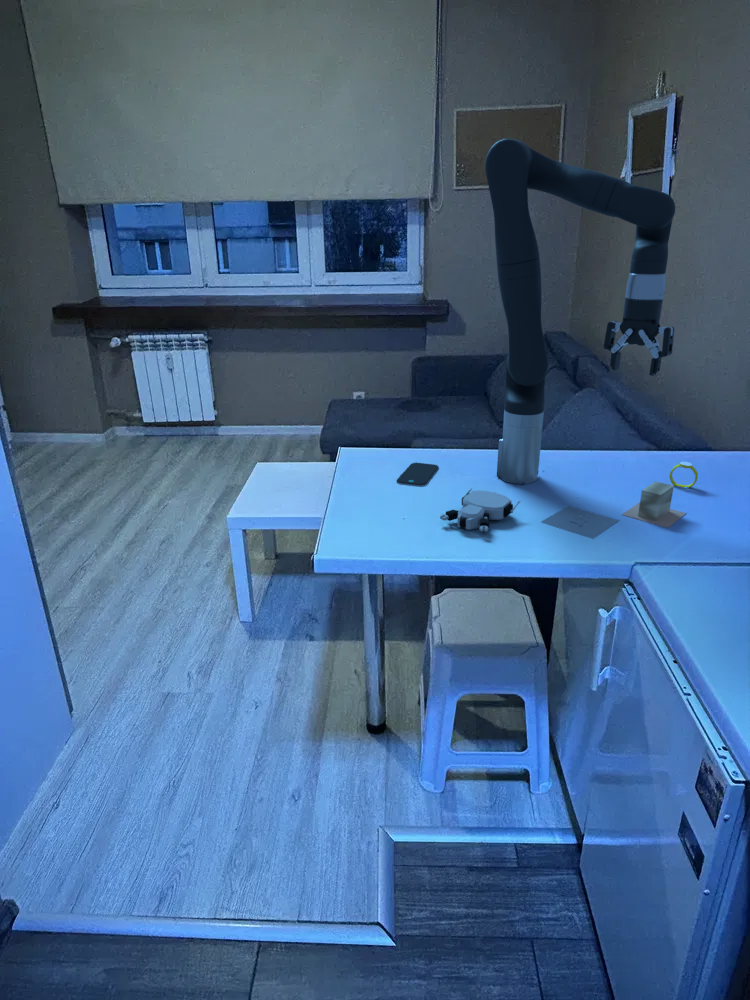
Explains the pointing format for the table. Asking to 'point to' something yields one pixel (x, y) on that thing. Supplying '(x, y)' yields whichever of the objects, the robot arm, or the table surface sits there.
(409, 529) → the table surface
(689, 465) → the watch
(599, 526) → the board
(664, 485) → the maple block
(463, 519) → the robot toy
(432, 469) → the smartphone
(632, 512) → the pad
